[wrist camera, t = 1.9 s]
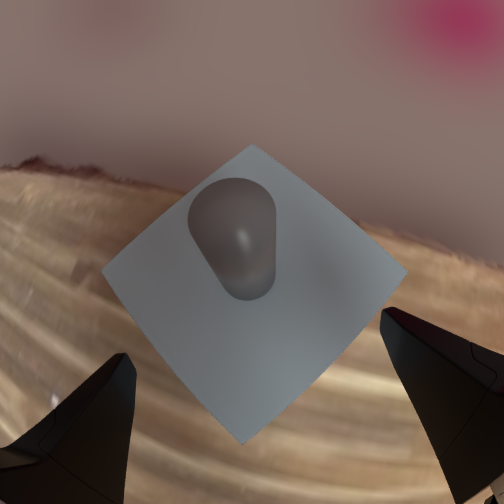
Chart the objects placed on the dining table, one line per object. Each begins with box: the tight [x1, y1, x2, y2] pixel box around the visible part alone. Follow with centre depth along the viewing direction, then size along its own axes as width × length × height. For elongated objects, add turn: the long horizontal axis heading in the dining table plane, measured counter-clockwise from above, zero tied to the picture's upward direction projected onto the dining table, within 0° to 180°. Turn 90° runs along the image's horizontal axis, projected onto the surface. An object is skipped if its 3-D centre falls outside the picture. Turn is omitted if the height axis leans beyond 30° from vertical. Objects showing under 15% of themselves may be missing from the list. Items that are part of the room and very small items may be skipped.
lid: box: [101, 144, 408, 445], centre depth 14 cm, size 14×14×9 cm
